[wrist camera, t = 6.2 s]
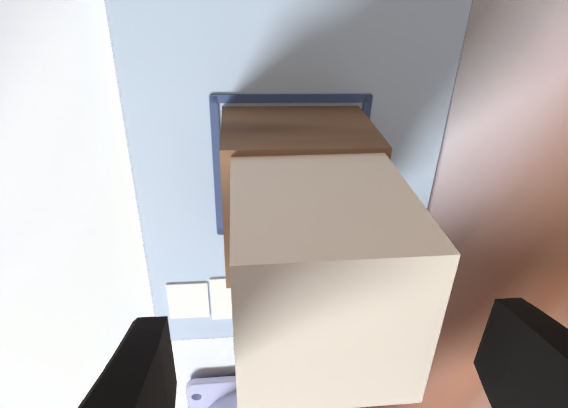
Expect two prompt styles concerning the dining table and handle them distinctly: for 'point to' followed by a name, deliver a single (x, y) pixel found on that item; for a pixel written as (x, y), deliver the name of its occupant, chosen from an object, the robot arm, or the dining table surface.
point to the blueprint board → (263, 92)
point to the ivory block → (333, 282)
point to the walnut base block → (290, 140)
